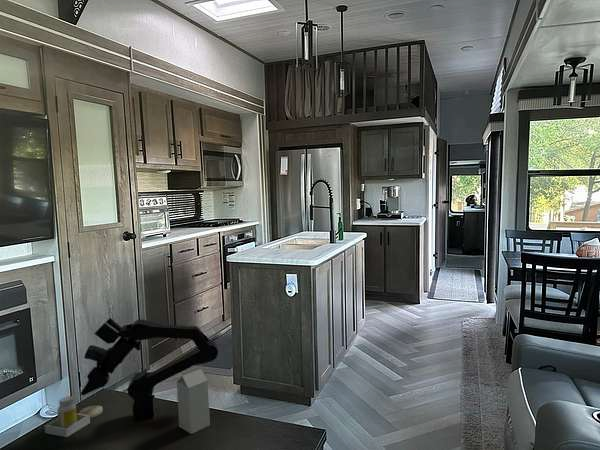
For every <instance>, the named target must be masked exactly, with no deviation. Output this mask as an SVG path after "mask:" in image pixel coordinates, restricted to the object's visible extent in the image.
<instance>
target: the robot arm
mask: <svg viewBox="0 0 600 450" xmlns="http://www.w3.org/2000/svg"><path fill="white" fill-rule="evenodd" d="M94 335H95V336H96V337H98V338H99V339H100V340H102V341H103V342H105V343H106V344H107V345H108V344H110V345H111V344H113V345H112V346H111V347H109V348H107V349H106V348H103V347H100V346H98V345H97V346H96V345H93V344H90V345H89V346H88V347H87V350H86V352H85V353H84V357H83V358H84V359H86V360H90V361H95V362H96V366H94V367H92V369H91V370H90V371H89V373H88V374H87V380H88V381H87V382H86V384H85V386H84V387H83V389H82V391H81V392H80V395H82V396H85V395H87V394H89V393H92V392H93V391H95V390H98V389H101V388H104V387H105V386H106V385H107V384H108V382H109V380H110V375H112V374H113V373H114V371H115V370H116V368H118V366H119V365H121V364H122V363H123V361H124V360H125V358H126V357H127V356H128V355H129V354H130V353H131V352H132V351H133V350H134V349H135V350H137V351H138V352H139V351H141V348H142V341H143V340H144V341H145V340H151V339H155V338H163V339H164V338H167V339H180V340H181V339H185V340H191V341H192V342H193V343H194V345H195V346H196V347H195V348H194V349H193V350H192V351H191V352H189V353H187V354H185V355H183V356H181V357H180V358H177V359H176V360H173V361H172V362H169V363H167V364H166V365H164V366H162V367H160V368H157V369H155V370H154V371H147V368H145V369H143V370H142V371H140V372H137V373H134V376H132V378H131V379H130V381H129V383H128V388H127V390H126V391H127V395H128V396H129V397H130V398H132V400H133V404H132V416H133V418H132V419H133V421H134V422H135V421H144V420H153V419H154V418H155V416H156V413H157V411H158V409H157V408H156V398H155V397H156V396H155V394H154V393H153V392H154V389H155V386H156V385H158V384H160V383H162V382H164V381H166V380H168V379H169V378H172V377H174V376H176V375H177V374H178V375H179V373H182V372H184V371H187V370H189V368H190V369H191V368H193V366H197V365H203V364H207V363H209V362H213V361H215V360H217V357H218V355H219V351H218V346H217V343H216V342H215V341H214V340H212V339H210V338H209V337H208V336H207V335H206V334H205V333H204V332H203V331H201V328H200V327H199V326H197V325H192V326H190V325H188V326H187V325H173V324H161V323H160V324H159V323H156V322H154V321H150V320H146V319H141V318H140V319H136V320H134V322H133V323H129V324H124V325H123V326H121V325H120V324H118V322H116V321H115V320H114V319H113V318H111V317H110V318H108V320H106V321H105V322H104V323H103V324H102V325H100V327H99V328H98V329H97V330H96V331H95V332H94ZM118 338H119V339H118ZM117 339H118V340H117Z"/></svg>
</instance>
